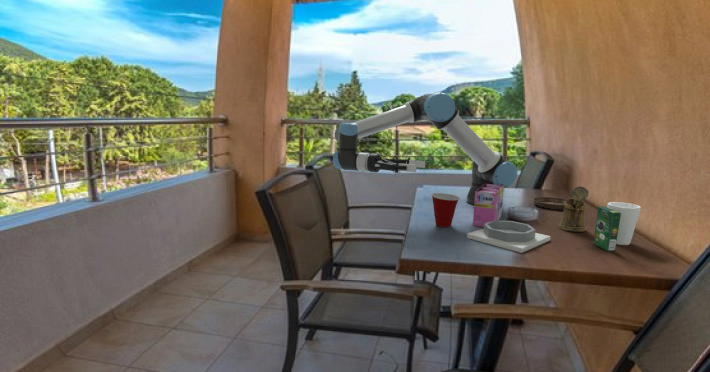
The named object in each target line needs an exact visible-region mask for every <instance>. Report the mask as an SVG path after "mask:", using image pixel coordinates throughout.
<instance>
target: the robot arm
mask: <svg viewBox="0 0 710 372" xmlns="http://www.w3.org/2000/svg"><path fill="white" fill-rule="evenodd" d="M455 103H456V102H455V101H454V99H453V98H452V97H451V96H450V95H449V94H447V93H444V92H439V91H438V92H433V93H425V94H423V95H420V96H418V97H416V98H414V99H412V100H409V101H406V102H405V103H404V104H403V105H402V106H399V107H395V108H392V109H390V110H387V111H384V112H381V113H378V114H375V115H371V116H369V117H366V118H364V119H360V120H357V121H354V122H340V124H339V126H338V127H337V128H335V130H334V138H335V140H336V141H337V142H338V144H339V145H338V146H339V147H338V150H337V151H335V152H334V153H333V157H332V165H333V167H334V168H335V169H337V170H343V171H353V172H354V171H355V172H356V171H357V172H361V173H365V172H369V173H379V171H380V170H384V171H392V172H394V173H397V174H398V173H399V172H409V173H411V172H412V173H416V172H417V168H420V169H421V168H422V169H425V168H426V160H417V159H415V160H413V159H411V158H409V157H407V158H406V159H403V158H402V159H397V158H396V159H395V158H388V157H385V158H382V157H381V154H380V153H370V152H358V139H362V138H365V137H368V136H371V135H374V134H377V133H380V132H382V131H385V130H389V129H392V128H394V127H397V126H400V125H403V124H406V123H411V124H413V123H416V122H420V121H429V122H430V123H431V124H432V125H433V126H434V127H435V128H436V129H437V130H441V131H442V130H443V131H444V132H445V133H446V134H447V135H448V136H449V137H450V138H451V139H452V141H454V142H455V143H456V144H457V145H458V147H460V148H461V149H462V151H464V152H465V153H466V155H468V157H469V158H470V159H471V160H472V161H471V162H472V163H471V167H472V168H471V180H470V181H471V182H470V183H471V184H470V188H469V190H468V192H467V195H466V203H468V204H470V205H471V204H472V205H474V202H475V191H477V190H478V189H479V188H480V187H481V186H483V184H485V183H489V184H493V185H499V186H500V185H501V184H504V187H503V189H506V188H509V187H511V186H512V185H514V184H515V181H516V180H517V178H518V174H519V173H518V168H517V166H516V165H515V164H514V163H513V162H511V161H508V160H506V159H505V158H504V157H503V155H501V154H500V152H498V151H493V150H492V149H491V147H489V146H488V145H487V144H486V143H485V142H484V140H483V139H481V137H480V136H478V134H477V133H476V132H475V131H474V130H473V128H471V126H469V125H468V123H466V122H465V121H464V120H463V119H462V117H461V116H460V110H459V108H457V107H456V104H455Z"/></svg>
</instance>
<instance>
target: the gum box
mask: <svg viewBox="0 0 710 372" xmlns="http://www.w3.org/2000/svg"><path fill="white" fill-rule="evenodd" d="M503 187H504V184H501V185H500V186H499V185H493V184H489V183H485V184H483V186H481V187H480V188H479V189H478V190H477V191H475V202H474V204H473V219H472V225H473V226H477V227H483V228H484V223H487V222H491V221H500V219H501V217H502V215H503V205H504V203H503V201H504V188H503Z"/></svg>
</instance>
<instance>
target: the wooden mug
mask: <svg viewBox="0 0 710 372" xmlns="http://www.w3.org/2000/svg"><path fill="white" fill-rule="evenodd" d="M589 194H590V193H589V190H588V189H587V188H585V187H584V186H577V187H574V188H572V189H571V190H570V191H569V198H567V199H566V203H565V205H564V207H565V208H564V209H563V213H562V215H561V220H560V222H559V224H558V228H559V229H560V230H562V231H566V232H570V233H571V232H572V233H584V232H586V225H585V224H586V222H585V210H586V204H585V201H584V200H585V199H587V198H588V197H589Z"/></svg>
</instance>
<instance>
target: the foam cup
mask: <svg viewBox="0 0 710 372" xmlns="http://www.w3.org/2000/svg"><path fill="white" fill-rule="evenodd" d="M606 207H607V208H610V209H612V210H615V211H617V212H620V213H621V217H620V223H619V229H618V236H617V242H616V245H619V246H620V245H621V246H628V245H630V244H631V242H632V239H633V235H634V232H635V229H636V225H637V222H638V219H639V216H640V215H641V209H642V207H641V206H640V205H638V204H634V203H629V202H621V201H619V202H618V201H612V202H611V201H610V202H607V206H606Z"/></svg>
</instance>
